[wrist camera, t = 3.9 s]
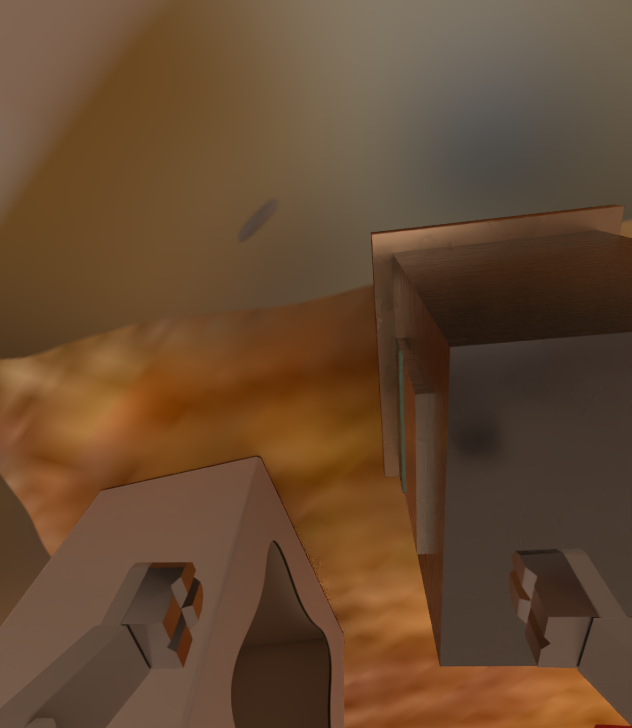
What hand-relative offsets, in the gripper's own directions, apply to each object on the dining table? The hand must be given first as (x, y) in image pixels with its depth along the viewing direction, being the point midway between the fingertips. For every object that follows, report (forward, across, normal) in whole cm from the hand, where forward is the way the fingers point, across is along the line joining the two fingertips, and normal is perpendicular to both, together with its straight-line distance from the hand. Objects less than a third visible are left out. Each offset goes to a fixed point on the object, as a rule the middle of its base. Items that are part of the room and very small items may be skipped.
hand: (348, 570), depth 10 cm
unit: (+15, -8, +2) cm, 17 cm away
